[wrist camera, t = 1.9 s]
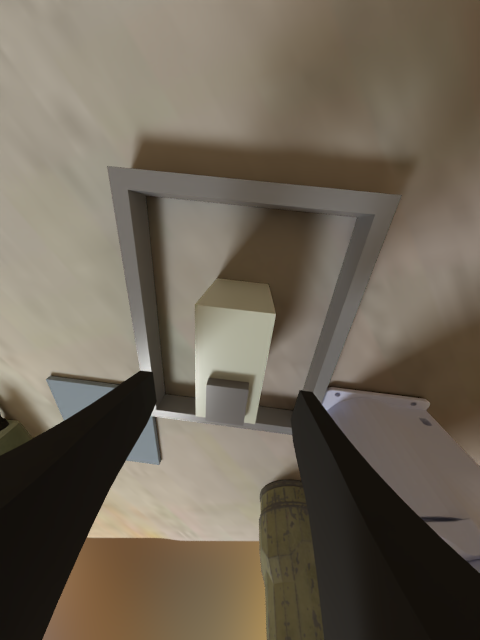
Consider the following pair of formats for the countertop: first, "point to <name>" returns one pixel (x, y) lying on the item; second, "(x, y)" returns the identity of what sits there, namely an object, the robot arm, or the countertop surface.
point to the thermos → (288, 564)
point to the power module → (232, 349)
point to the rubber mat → (83, 393)
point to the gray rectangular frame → (367, 206)
